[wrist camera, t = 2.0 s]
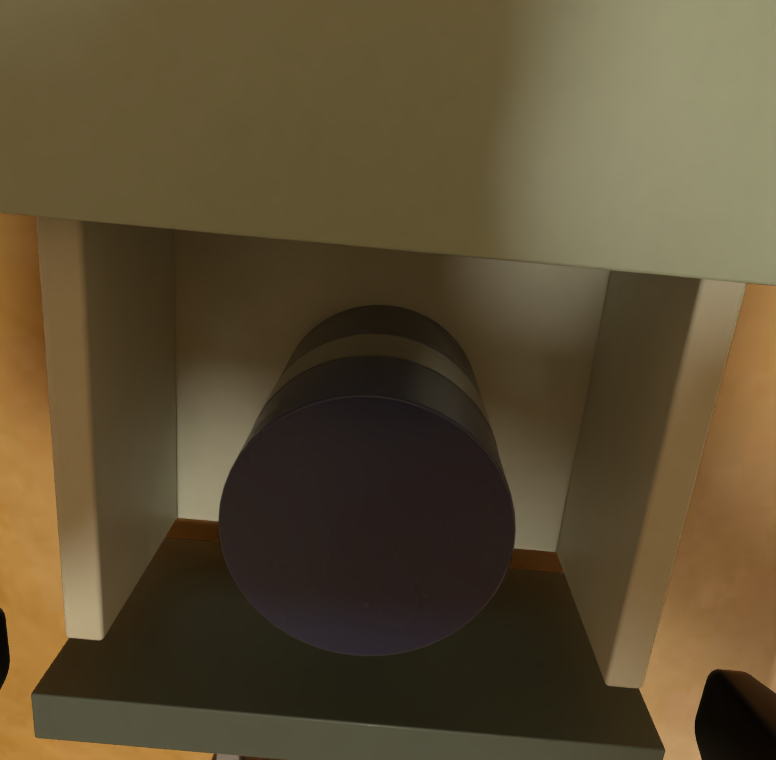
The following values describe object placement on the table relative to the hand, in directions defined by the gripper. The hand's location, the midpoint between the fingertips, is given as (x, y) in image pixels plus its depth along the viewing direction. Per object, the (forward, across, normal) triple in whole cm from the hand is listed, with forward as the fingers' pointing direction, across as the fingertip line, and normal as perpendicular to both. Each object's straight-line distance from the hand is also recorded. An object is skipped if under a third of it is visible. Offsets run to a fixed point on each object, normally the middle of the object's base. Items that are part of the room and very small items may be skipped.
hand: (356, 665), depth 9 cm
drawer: (+11, 0, +1) cm, 11 cm away
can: (+10, 0, 0) cm, 10 cm away
